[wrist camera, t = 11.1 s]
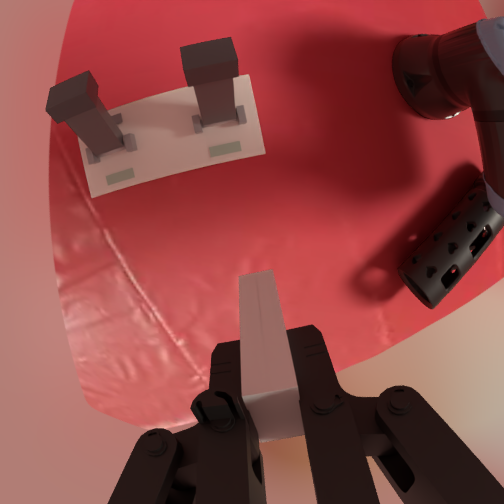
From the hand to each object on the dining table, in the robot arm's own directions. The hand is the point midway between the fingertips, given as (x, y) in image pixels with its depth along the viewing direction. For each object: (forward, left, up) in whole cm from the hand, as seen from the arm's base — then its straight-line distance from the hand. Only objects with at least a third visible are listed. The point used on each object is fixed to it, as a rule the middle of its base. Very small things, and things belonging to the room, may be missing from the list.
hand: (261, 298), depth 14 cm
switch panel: (+11, -6, -30) cm, 32 cm away
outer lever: (+16, -3, -23) cm, 28 cm away
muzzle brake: (-37, -9, -30) cm, 49 cm away
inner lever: (+5, -9, -24) cm, 26 cm away
